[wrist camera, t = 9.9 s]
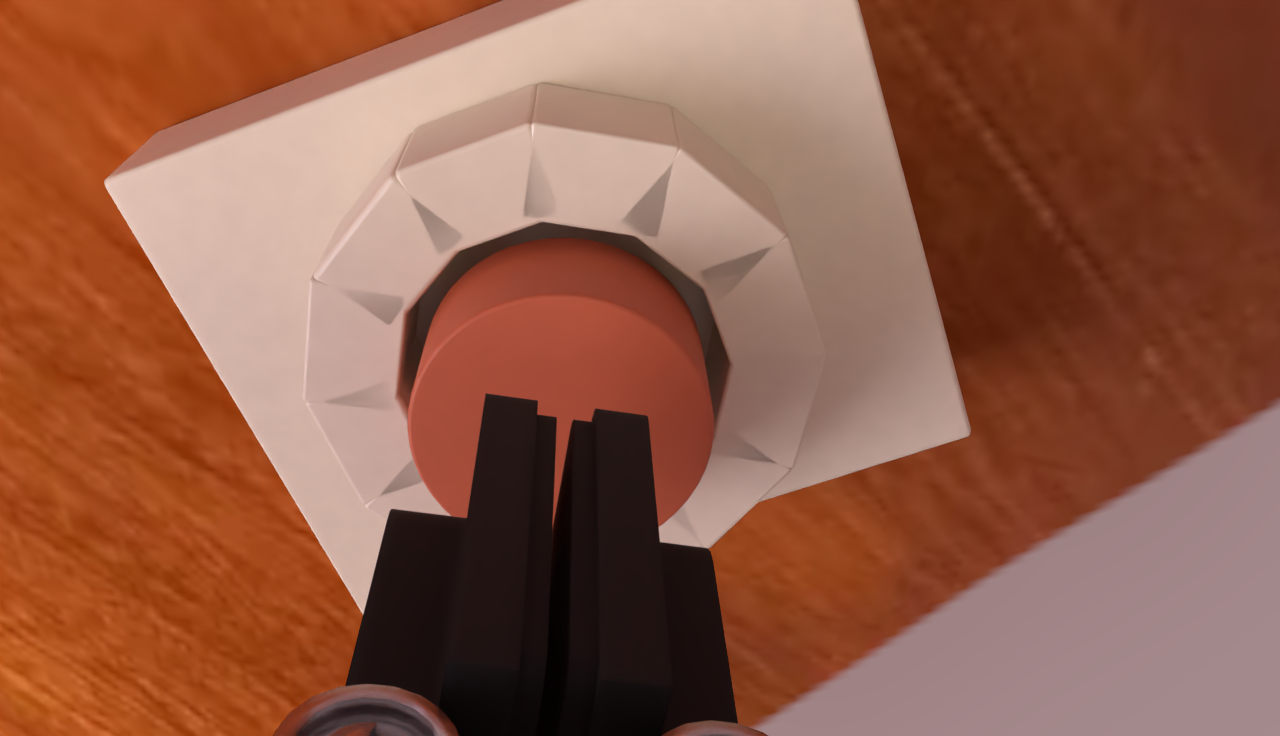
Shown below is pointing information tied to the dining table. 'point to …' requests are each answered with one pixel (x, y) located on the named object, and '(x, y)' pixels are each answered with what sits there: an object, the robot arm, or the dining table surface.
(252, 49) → the dining table surface
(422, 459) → the button
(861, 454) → the control block
